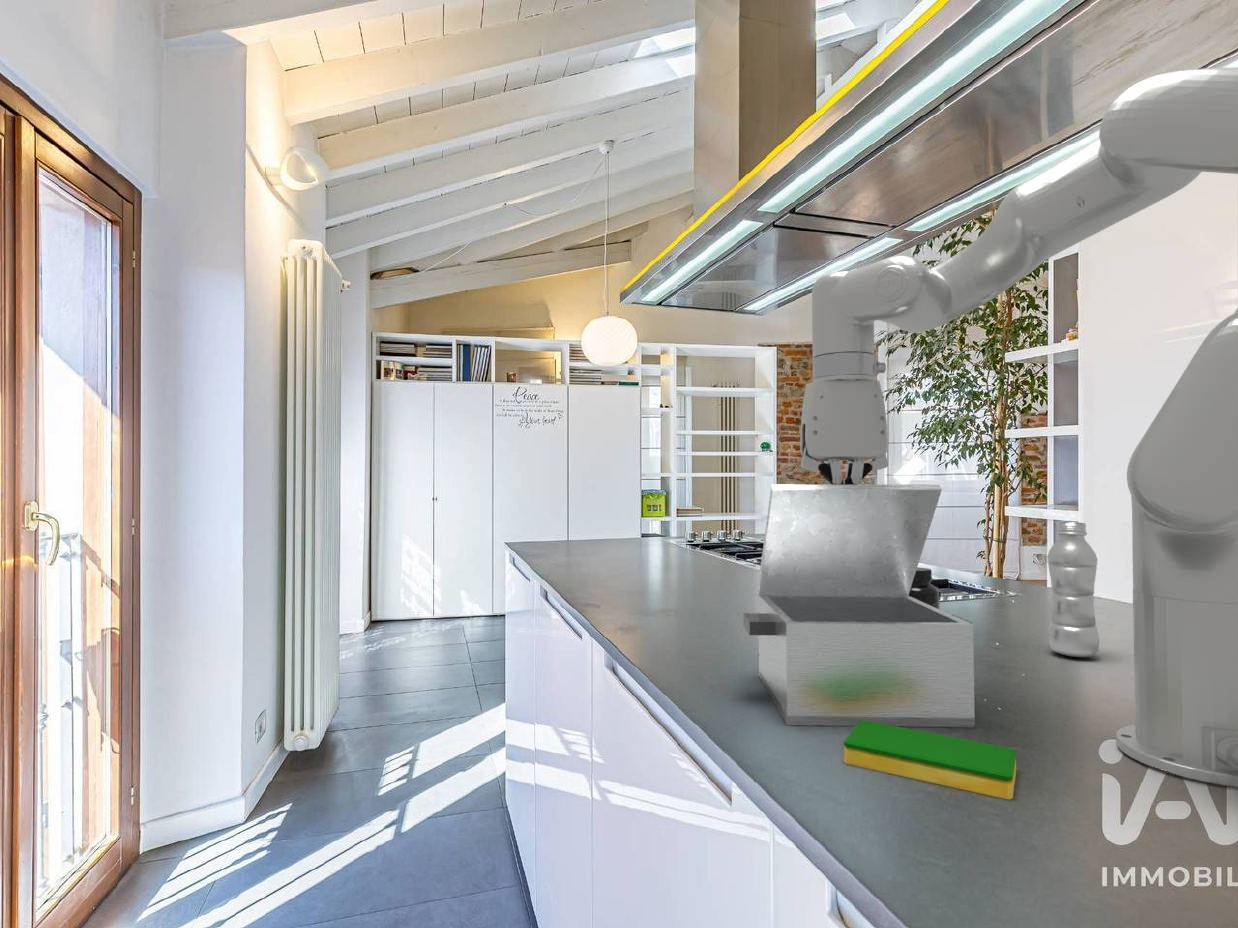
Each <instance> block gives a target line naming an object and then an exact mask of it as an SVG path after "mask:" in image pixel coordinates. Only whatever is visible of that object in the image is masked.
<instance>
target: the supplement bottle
mask: <svg viewBox="0 0 1238 928" xmlns="http://www.w3.org/2000/svg"><path fill="white" fill-rule="evenodd" d="M932 575H933V574H932V569H931V568H927V567H918V566H917V569H916V573H915V576H914V579H913V582H912V585H911V588H910V592H909V595H908V596H910V597H912V598H915V599H917V600H919V601H921V602H924V603H926V604H928V605H930V606H933V607H935V608H937V609H939V610H941V609H940V592H939V590H938V588H937V587H936V586H934V585H933V584H931V582H932V581H933V576H932Z"/></svg>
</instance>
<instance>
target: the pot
mask: <svg viewBox="0 0 1238 928" xmlns="http://www.w3.org/2000/svg"><path fill="white" fill-rule="evenodd" d="M939 609H940V608H939ZM939 609H937V608H935V607H933V606H930V605H928V604H926V603H924V602H921V601H919V600H917V599H915V598H912V597H910V596H878V595H758V613H755V612H754V613H753V612H752V613H749V612H748V613H747V612H746V613H744V612H743V618H742V619H743V627H744V629H745V631H746V632H747V633H748V635H749V636H758V674H759V675H758V677H759V679H760V680H761V682H762V684H763V686H764V687H765V690H766V691H767V693H768V694H769V697H770V698H771V700H772V701H773V703H774V705H775V706H776V708H777V709H778V711H779V712H778V713H780V715H781V716H782V717H781V718H782V719H783V721H784V722H785V724H786V725H787V726H828V727H829V726H830V727H831V726H832V727H833V726H834V727H835V726H836V727H845V726H846V727H856V726H857V725H858V723H859V722H860V721H869V722H874V723H880V724H885V725H890V726H896V727H903V728H905V727H906V728H907V727H911V728H913V727H915V728H917V727H919V728H923V727H924V728H976V725H975V724H976V723H975V722H976V721H975V718H976V717H975V662H974V661H975V653H974V651H975V650H974V642H975V641H974V623H973V622H971V621H969V620H966V619H964V618H962V617H959V616H958V615H955V614H951V613H948V612H945V611H944V610H942V609H940V610H939Z"/></svg>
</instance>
